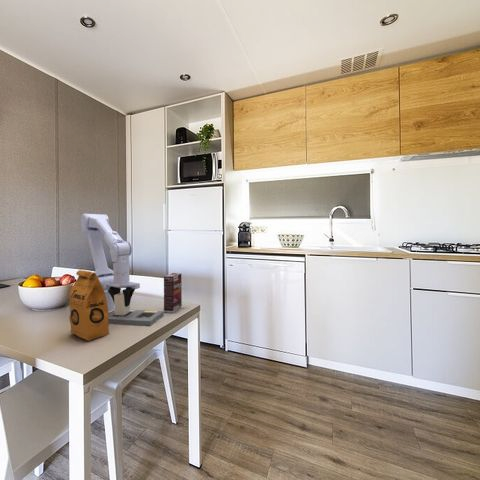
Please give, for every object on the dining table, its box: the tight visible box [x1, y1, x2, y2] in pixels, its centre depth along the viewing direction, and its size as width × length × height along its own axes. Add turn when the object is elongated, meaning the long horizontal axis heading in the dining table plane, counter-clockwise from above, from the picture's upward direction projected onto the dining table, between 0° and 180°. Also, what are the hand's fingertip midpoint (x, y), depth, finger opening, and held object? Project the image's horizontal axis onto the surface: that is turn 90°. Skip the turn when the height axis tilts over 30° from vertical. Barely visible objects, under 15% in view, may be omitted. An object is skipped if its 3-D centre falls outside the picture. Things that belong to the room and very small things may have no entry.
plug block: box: [114, 291, 131, 315], centre depth 97 cm, size 4×4×8 cm
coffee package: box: [68, 269, 110, 342], centre depth 83 cm, size 10×12×22 cm
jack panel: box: [108, 309, 165, 327], centre depth 97 cm, size 20×11×2 cm, turn 82°
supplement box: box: [163, 272, 183, 314], centre depth 108 cm, size 9×5×16 cm, turn 168°
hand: (122, 305), depth 98 cm, fingers closed on plug block, 4 cm apart
